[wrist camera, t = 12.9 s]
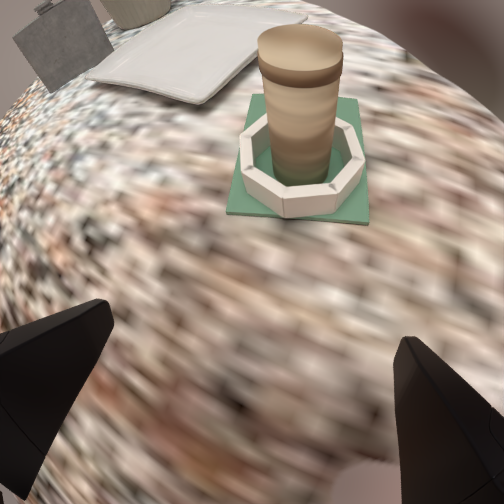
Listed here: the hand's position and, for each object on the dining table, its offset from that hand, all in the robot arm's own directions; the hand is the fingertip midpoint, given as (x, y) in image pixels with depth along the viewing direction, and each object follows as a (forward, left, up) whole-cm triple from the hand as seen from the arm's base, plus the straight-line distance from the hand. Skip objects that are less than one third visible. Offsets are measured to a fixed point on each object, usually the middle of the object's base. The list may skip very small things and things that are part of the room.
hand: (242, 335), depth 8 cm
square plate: (+44, +8, -14) cm, 47 cm away
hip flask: (+51, +33, -14) cm, 62 cm away
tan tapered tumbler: (+16, -4, -13) cm, 21 cm away
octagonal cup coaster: (+19, -4, -14) cm, 23 cm away
